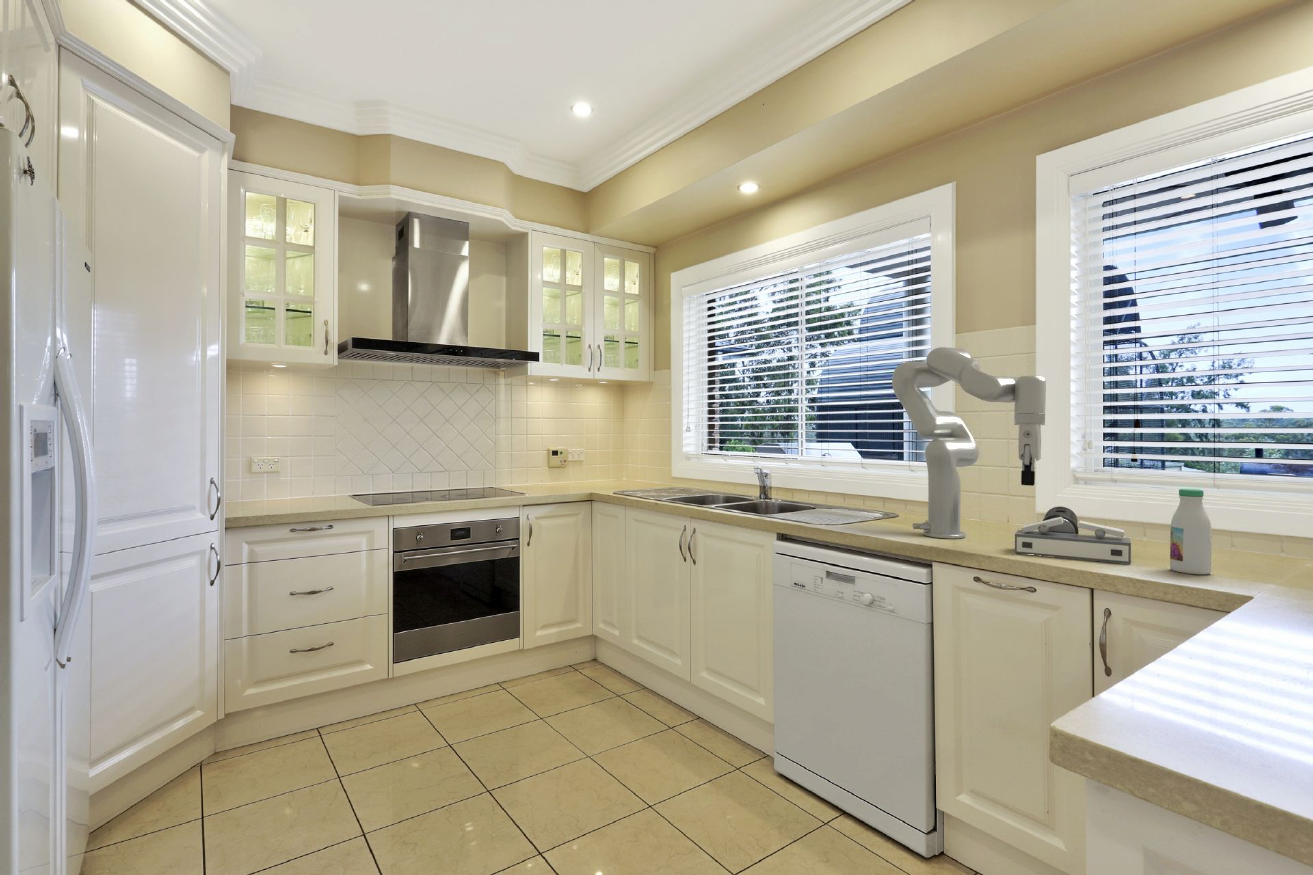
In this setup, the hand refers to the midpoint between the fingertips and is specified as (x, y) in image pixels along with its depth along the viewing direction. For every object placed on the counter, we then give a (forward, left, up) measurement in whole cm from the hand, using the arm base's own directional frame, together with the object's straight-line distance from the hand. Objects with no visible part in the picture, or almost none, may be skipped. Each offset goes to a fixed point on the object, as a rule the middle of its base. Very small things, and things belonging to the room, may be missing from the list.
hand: (1027, 485), depth 184 cm
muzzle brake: (+15, +13, -19) cm, 28 cm away
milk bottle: (+26, -24, -19) cm, 41 cm away
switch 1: (+4, -2, -13) cm, 14 cm away
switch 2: (+14, -9, -13) cm, 21 cm away
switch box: (+8, -6, -19) cm, 21 cm away
